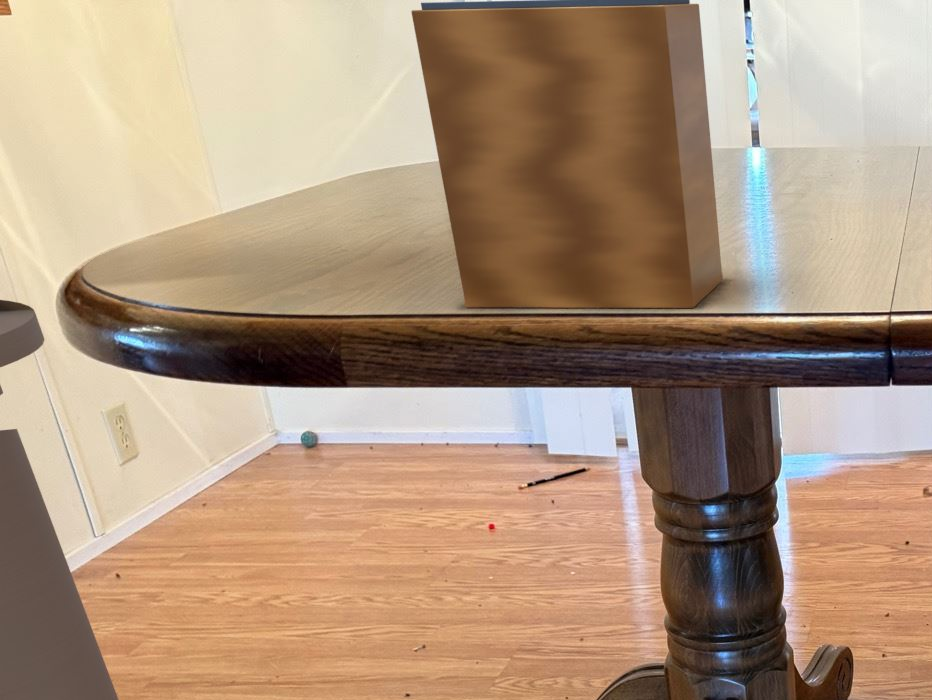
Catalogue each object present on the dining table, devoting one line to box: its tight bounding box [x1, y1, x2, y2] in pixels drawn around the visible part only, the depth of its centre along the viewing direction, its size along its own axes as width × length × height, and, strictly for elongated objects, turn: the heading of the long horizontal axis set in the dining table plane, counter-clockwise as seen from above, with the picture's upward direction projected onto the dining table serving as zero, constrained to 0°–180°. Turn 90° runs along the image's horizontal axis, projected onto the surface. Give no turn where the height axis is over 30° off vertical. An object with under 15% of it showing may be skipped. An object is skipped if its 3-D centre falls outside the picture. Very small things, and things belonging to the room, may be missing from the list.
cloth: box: [420, 0, 691, 10], centre depth 79 cm, size 15×8×1 cm, turn 85°
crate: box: [410, 3, 723, 309], centre depth 84 cm, size 16×9×18 cm, turn 85°
